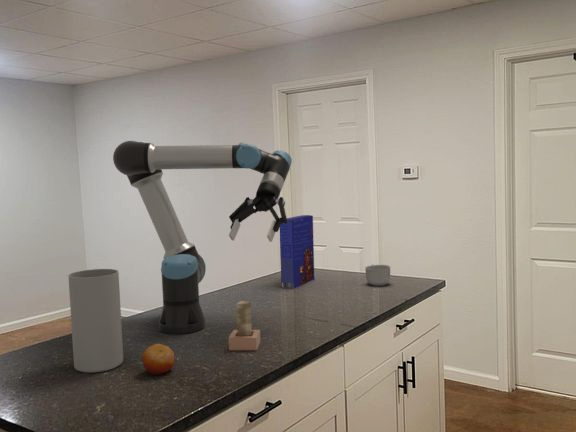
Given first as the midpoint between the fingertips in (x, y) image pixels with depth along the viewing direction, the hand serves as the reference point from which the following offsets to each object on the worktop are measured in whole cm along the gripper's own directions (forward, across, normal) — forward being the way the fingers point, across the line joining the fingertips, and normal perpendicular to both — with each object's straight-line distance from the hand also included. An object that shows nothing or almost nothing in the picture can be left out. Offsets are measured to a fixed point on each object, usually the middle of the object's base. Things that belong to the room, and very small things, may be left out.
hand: (249, 238), depth 171 cm
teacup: (-36, -18, -79) cm, 88 cm away
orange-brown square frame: (+31, -5, -11) cm, 33 cm away
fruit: (+50, +6, +7) cm, 50 cm away
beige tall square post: (+30, -5, -10) cm, 32 cm away
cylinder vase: (+51, +24, +8) cm, 57 cm away
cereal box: (-30, +16, -72) cm, 80 cm away
